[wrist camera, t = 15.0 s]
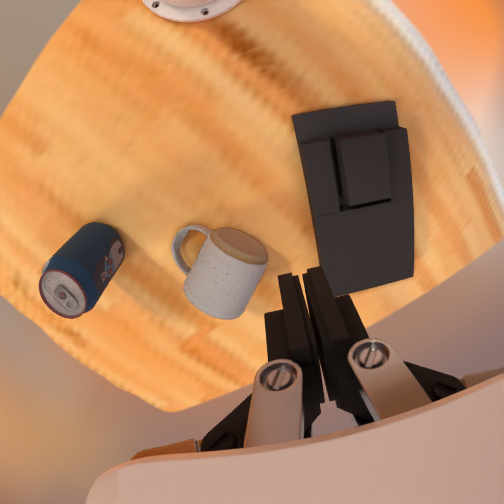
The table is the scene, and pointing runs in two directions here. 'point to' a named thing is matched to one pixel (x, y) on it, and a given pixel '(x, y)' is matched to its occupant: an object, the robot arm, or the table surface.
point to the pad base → (362, 215)
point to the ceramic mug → (222, 270)
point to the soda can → (81, 270)
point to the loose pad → (362, 166)
